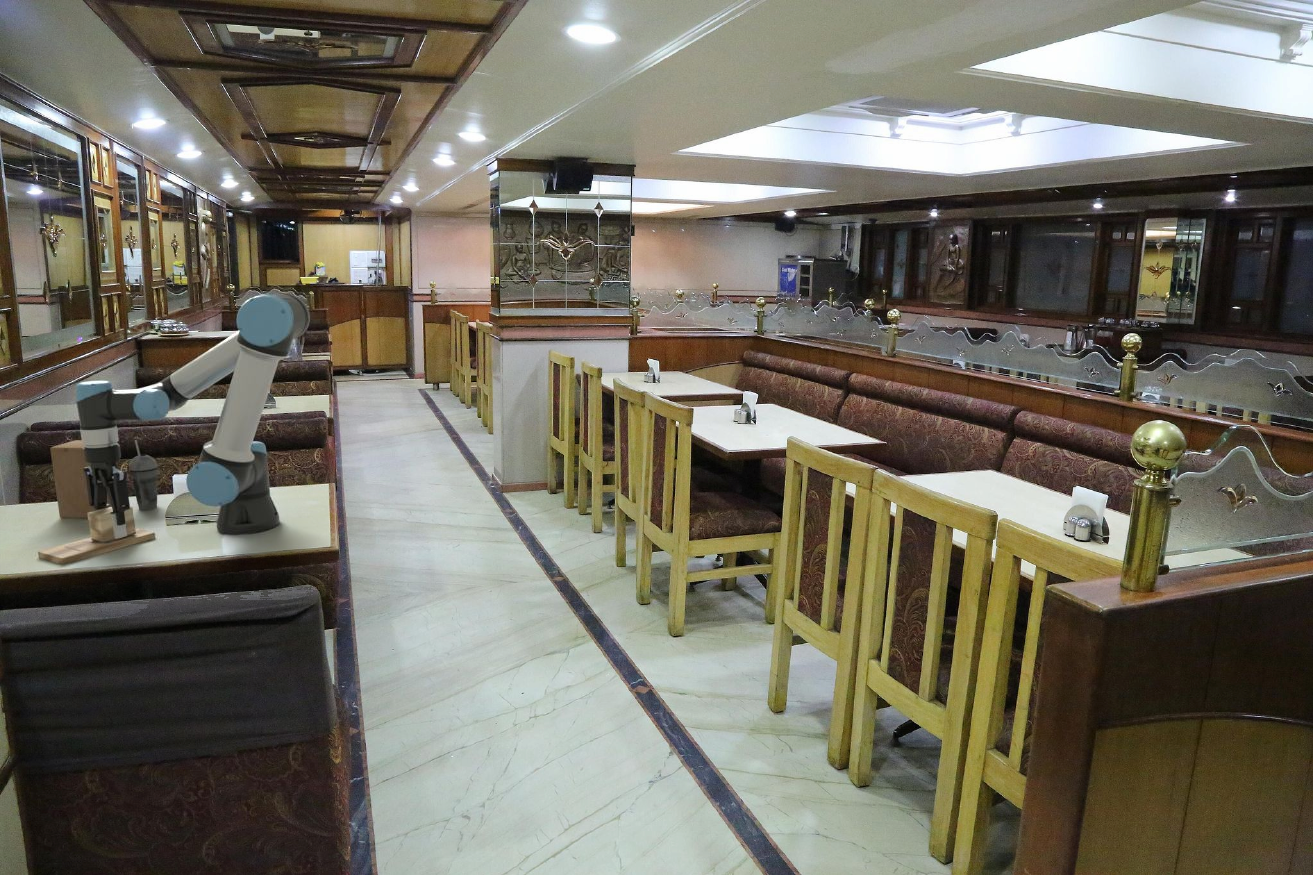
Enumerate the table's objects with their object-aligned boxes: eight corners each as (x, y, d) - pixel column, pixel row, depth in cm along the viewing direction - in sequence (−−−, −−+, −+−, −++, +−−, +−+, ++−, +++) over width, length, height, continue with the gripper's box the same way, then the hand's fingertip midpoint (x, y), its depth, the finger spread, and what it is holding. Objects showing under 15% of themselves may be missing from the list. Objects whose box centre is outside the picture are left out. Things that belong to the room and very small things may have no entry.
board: (155, 538, 214) (154, 532, 214) (63, 564, 195) (62, 558, 194) (131, 532, 218) (130, 526, 218) (38, 557, 199) (37, 551, 199)
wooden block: (94, 519, 229) (85, 447, 226) (59, 518, 230) (49, 447, 226) (118, 508, 239) (110, 440, 235) (84, 508, 239) (75, 439, 236)
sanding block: (136, 533, 212) (132, 506, 210) (103, 542, 204) (99, 515, 203) (123, 530, 214) (120, 504, 212) (91, 540, 207) (87, 512, 205)
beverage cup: (167, 507, 241) (160, 439, 237) (140, 513, 235) (132, 443, 231) (155, 503, 245) (147, 436, 241) (128, 508, 239) (120, 440, 235)
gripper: (139, 445, 204) (151, 536, 208) (94, 438, 212) (106, 526, 216) (108, 451, 197) (121, 545, 202) (62, 444, 205) (76, 534, 210)
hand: (113, 535), depth 209 cm, fingers closed on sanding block, 5 cm apart
